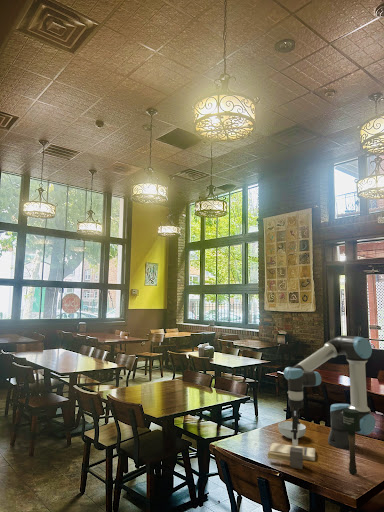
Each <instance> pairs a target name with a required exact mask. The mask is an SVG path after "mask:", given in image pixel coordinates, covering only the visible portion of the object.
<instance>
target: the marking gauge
mask: <svg viewBox="0 0 384 512" xmlns="http://www.w3.org/2000/svg"><path fill="white" fill-rule="evenodd" d="M267 458H268V459H270V460H277V461H283V462H284V461H286V462H289V464H290V465H289V467H290V468H291V467H292V469H298V468H299V469H300V470H303V467H304V466H303V465H304V461H303V460H304V459H303V448H296V447H291V448H290V455H288V454H281V453H274V452H269V451H268V452H267Z"/></svg>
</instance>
